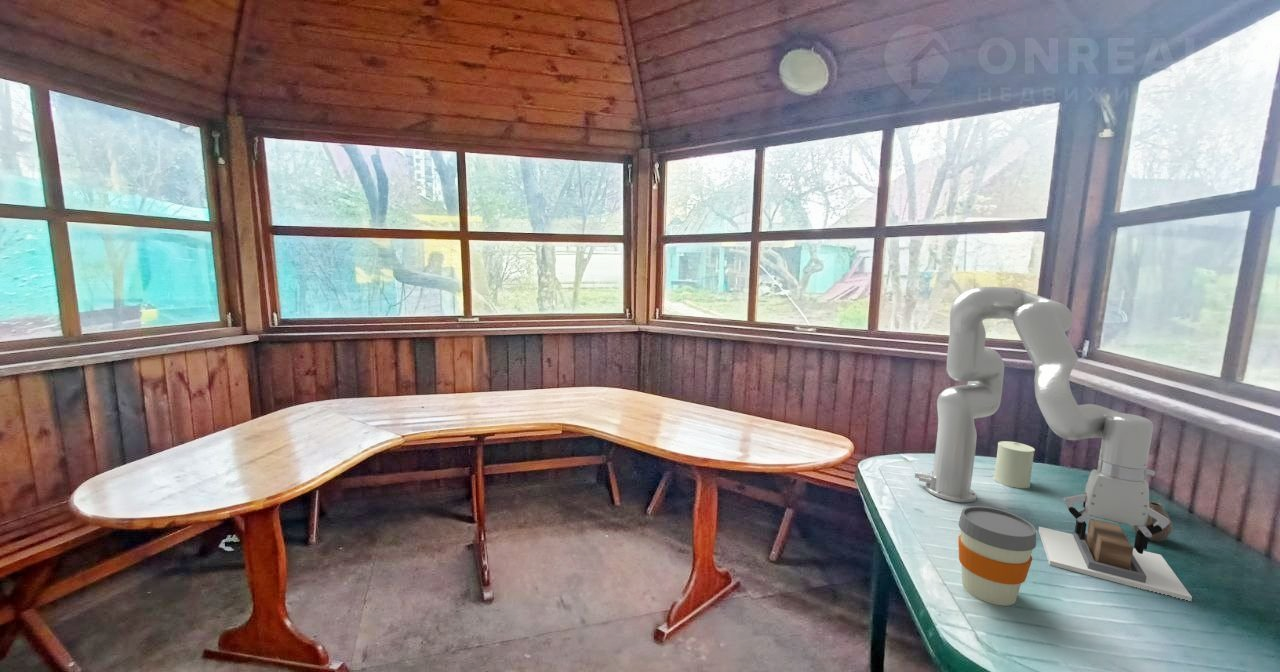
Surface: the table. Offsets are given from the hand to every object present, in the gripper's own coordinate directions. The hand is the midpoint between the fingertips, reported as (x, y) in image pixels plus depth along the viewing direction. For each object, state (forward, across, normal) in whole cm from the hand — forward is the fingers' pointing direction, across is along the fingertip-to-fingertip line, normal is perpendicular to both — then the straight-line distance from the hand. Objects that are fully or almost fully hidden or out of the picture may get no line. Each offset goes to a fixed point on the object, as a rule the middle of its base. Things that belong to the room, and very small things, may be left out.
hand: (1108, 543), depth 112 cm
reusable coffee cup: (+4, +23, +28) cm, 37 cm away
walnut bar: (+3, 0, 0) cm, 3 cm away
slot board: (+4, 0, 0) cm, 4 cm away
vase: (+4, -12, -21) cm, 25 cm away
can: (+4, +14, -42) cm, 44 cm away
